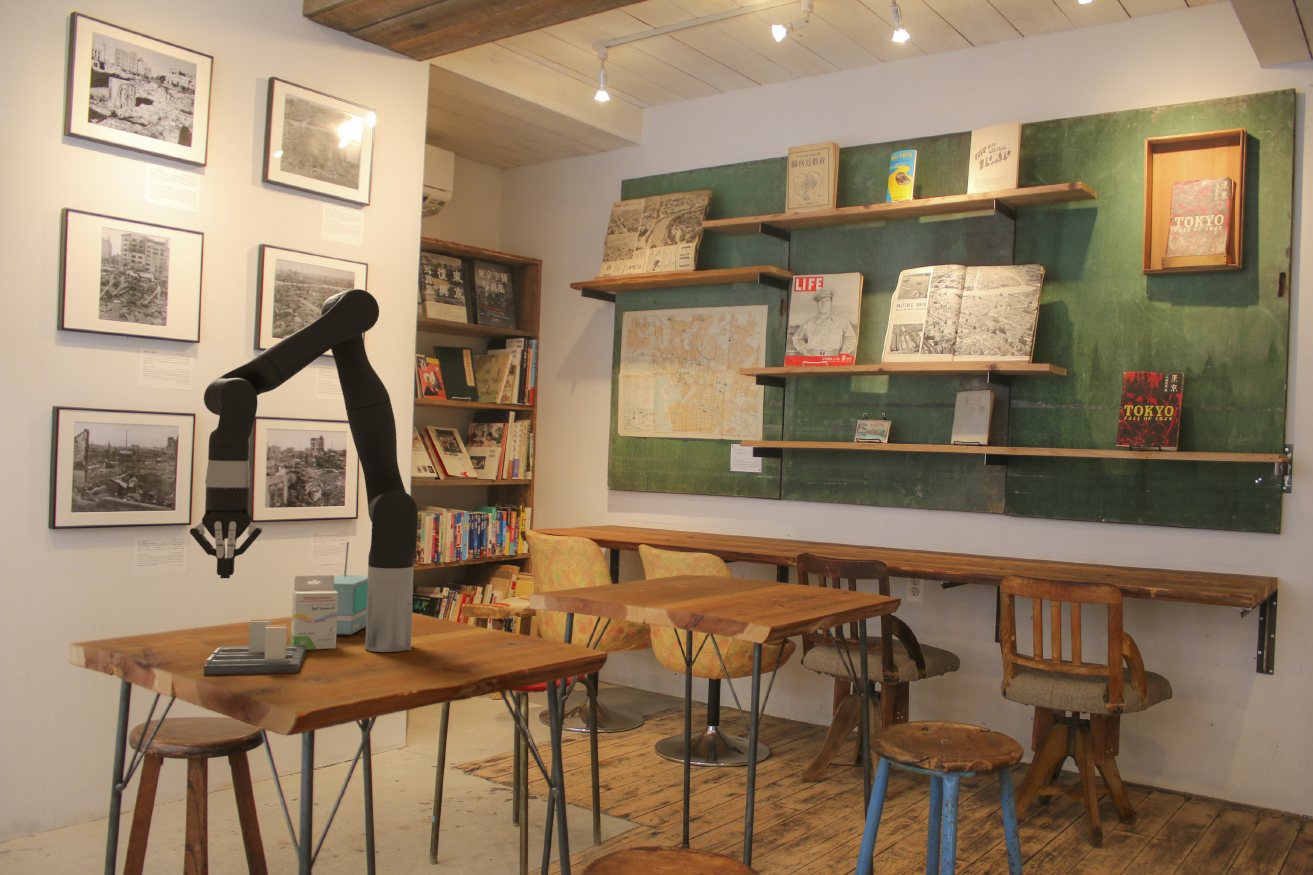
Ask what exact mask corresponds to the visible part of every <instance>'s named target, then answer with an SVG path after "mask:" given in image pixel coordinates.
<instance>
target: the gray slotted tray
mask: <svg viewBox="0 0 1313 875" xmlns="http://www.w3.org/2000/svg"><path fill="white" fill-rule="evenodd" d="M306 654H307V650H306V645H290V644H288V645H287V649H286V658H285V659H265V652H249V645H236V646H235V645H231V646H229V645H224V646H220V647H219V646H218V647H217V648H216V649H215V650H214V652H213V653H212V654H211V655H210V656H209V657H208V658H207V659H206V663H205V664H204V666H203V676H209V675H211V676H213V675H216V676H218V675H253V674H254V675H255V674H256V675H259V674H260V675H262V674H297V673H299V671H300V668H301V666H302V664H303V662H304V659H305V656H306Z"/></svg>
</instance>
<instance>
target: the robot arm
mask: <svg viewBox="0 0 1313 875" xmlns="http://www.w3.org/2000/svg"><path fill="white" fill-rule="evenodd" d="M320 311H321V313H320V315H321V316H320V317H319V318H318V319H316V320H315V321H313V322H312V323H310V324H308V325H306V326H304V327H303V328H301V329H300V330H298V331H295V332H294V333H292V334H290V335H288V336H286V337H284V338H282V339H281V340H279V341H277V342H276V343H274V344H273V345H271V346H269V347H268V348H267V349H265V350H263V351H262V352H261V353H259V354H257V355H256V356H255V357H253V358H252V359H250V361H248V362H246V363H245V364H242V365H240V366H239V367H236V368H234V369H232V370H230V371H228V372H226V373H224V374H223V375H221V376H219V377H217V378H216V379H215V380H213V381H212V382H211V383H210V384H208V386H207V387H206V388H205V391H204V394H203V403H204V405H205V408H206V409H207V410H208V411H209V412H210V413H212V414H214V415H217V416H219V418H218V424H217V427H216V429H214V430H212V432H210V434H209V439H208V455H207V457H208V459H207V460H208V461H207V466H206V467H207V468H206V475H205V506H204V508H205V509H204V515H203V516H202V518H201V522H200V523H198V524H197V525H196V526H193V527H192V528H190V530H189V534H190V535H191V536H192V537H193V539H194V540H195V541H196V542H197V544H198V545H199V546H200V547H201V549H202V550H204V553H205V554H207V555H208V556H213V557H215V558H216V574H217V576H220V579H231V576H233V575H234V573H235V560H236V559H235V558H237V557H238V556H240V555H243V554H244V553H245V552H246V551H247V550H248V549H249V547H251V545H252V544H253V543H254V542H255V540H257V538H258V537H259V536H260V535H261V534H262V533H263V528H262V527H261V526H260V527H259V526H258V525H256V524H255V523H253V522H252V516H251V514H250V486H251V484H250V481H251V480H250V479H251V471H250V462H249V461H250V439H251V438H250V437H251V433H252V431H253V428H254V424H255V423H254V422H255V419H256V417H257V416H256V415H257V411H258V396H259V395H261V394H264V393H267V392H268V393H269V392H271V391H275V389H277V388H279V387H280V386H282V385H283V384H285V383H286V382H288V380H290V379H291V378H293V377H295V375H297V374H298V373H299V372H301V371H302V370H304V369H305V368H306V367H307V366H309V365H310V364H312V363H313V362H314V361H315V360H317V359H318V358H320V357H321V356H322V355H324V354H325V353H327V352H329V351H330V350H331V353H332V356H333V359H334V363H335V366H336V371H337V375H338V380H339V384H340V390H341V392H342V397H343V401H344V408H345V411H346V412H345V413H346V416H347V421H348V424H349V429H350V432H351V437H352V440H353V443H354V447H355V450H356V453H357V456H358V458H359V461H360V464H361V467H362V472H363V476H364V483H365V492H366V501H367V509H368V510H367V512H368V516H369V519H370V522H371V537H370V538H371V541H370V549H369V553H368V564H367V565H368V567H367V576H368V587H367V612H366V628H365V639H364V642H365V644H364V646H365V647H364V648H365V650H366V651H370V652H378V653H395V652H396V653H397V652H404V651H411V650H412V633H413V632H412V630H413V628H412V627H413V608H414V607H413V595H414V594H413V593H414V592H413V589H414V588H413V586H414V567H415V566H414V565H415V562H414V561H415V556H416V552H417V540H418V525H419V524H418V523H419V522H418V521H419V513H418V512H419V510H418V506H417V503H416V500H415V499H414V498H413V496H412V495H410V493H408V492H406V488H405V486H404V485H405V484H404V481H403V478H402V476H401V472H400V468H399V463H398V450H397V449H398V447H397V446H398V443H397V442H398V441H397V440H398V439H397V428H396V419H395V414H394V411H393V405H392V402H391V398H390V394H389V392H388V389H387V388H386V386H385V385H384V383H383V381H382V379H381V378H380V376H379V374H377V372H376V371H375V369H374V368H373V366H372V364H371V362H370V361H369V358H368V355H367V352H366V351H367V350H366V348H365V347H366V346H365V342H364V338H363V337H364V336H363V334H364V333H366V332H368V331H370V330H371V329H373V328H374V326H375V325H376V324H377V322H378V319H379V317H380V306H379V303H378V301H377V299H376V298H375V296H373V294H371V293H370V292H368V291H367V290H364V289H360V288H353V289H347V290H344V291H341V292H339V293H337V294H334V295H332V296H330V297H328V298H327V299H326V300H325V301H324V302H323V304H322V306H321V310H320ZM205 529H206V530H205ZM247 529H248V531H247V535H248V537H247V538H246V539H245V540H244V541H243V543H242V544H241V545H240V546H239V547H238V548H237V544H238V543H237V542H238V538H240V537H241V536H242V535H243V534H244V532H245V531H246V530H247ZM206 531H208V533H209V535H210V536H211V537H212V538H214V539H215V547H214V546H213V544H212V543H211V542H210V541H209V540H208V539H207V537H206V536H205V534H206ZM226 540H227V545H226Z"/></svg>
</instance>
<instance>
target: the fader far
mask: <svg viewBox="0 0 1313 875" xmlns="http://www.w3.org/2000/svg"><path fill="white" fill-rule="evenodd" d="M267 625H272V618H271V619H270V618H268V619H267V618H265V619H264V618H263V619H261V618H256V619H255V618H253V619H250V621H249V630H248V632H249V633H248V646H249V652H265V635H266V627H267Z"/></svg>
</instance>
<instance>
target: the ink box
mask: <svg viewBox="0 0 1313 875" xmlns="http://www.w3.org/2000/svg"><path fill="white" fill-rule="evenodd" d="M334 578H335V576H334V575H333V574H332V575H330V574H329V575H327V574H326V575H319V574H317V575H295V577H294V588H293V589H294V590H293V592H292V606H291V608H292V610H291V625H290V644H289V645H306V651H307V650H324V649H325V650H327V649H336V648H337V636H336V633H337V615H338V592H337V591H335V590H334ZM314 580H316V582H321V584H319V583H308V582H312V581H314Z"/></svg>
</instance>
